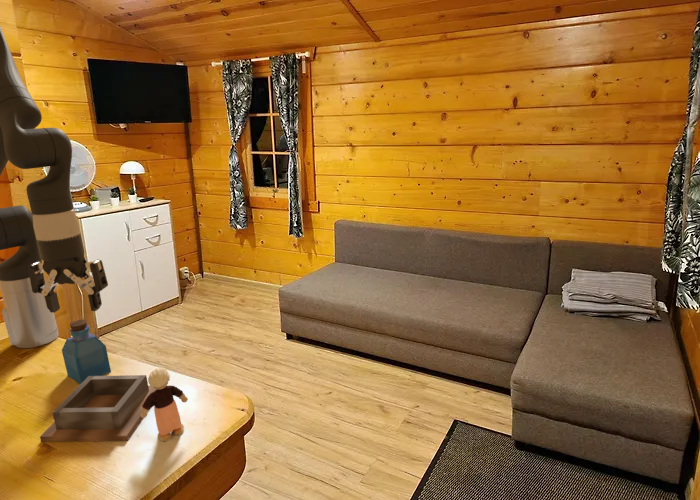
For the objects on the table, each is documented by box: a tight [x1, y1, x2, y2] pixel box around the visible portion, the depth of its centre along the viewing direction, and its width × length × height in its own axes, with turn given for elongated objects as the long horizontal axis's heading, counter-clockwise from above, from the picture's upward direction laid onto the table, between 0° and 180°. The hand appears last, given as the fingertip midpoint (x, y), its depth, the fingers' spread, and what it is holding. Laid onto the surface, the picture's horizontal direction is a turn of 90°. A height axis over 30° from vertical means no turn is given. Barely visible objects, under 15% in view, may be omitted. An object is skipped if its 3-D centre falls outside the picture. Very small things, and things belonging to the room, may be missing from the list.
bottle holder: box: [39, 374, 157, 443], centre depth 88 cm, size 15×15×4 cm
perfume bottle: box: [61, 319, 112, 385], centre depth 101 cm, size 6×6×12 cm
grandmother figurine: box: [140, 367, 189, 442], centre depth 81 cm, size 8×4×13 cm, turn 141°
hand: (75, 310), depth 98 cm, fingers open, 8 cm apart
